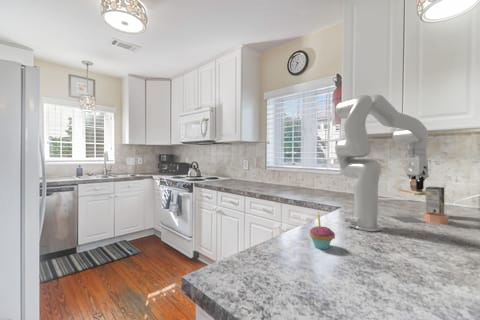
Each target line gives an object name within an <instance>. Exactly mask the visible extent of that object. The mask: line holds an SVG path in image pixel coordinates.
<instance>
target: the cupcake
mask: <svg viewBox="0 0 480 320" xmlns="http://www.w3.org/2000/svg"><path fill="white" fill-rule="evenodd" d="M317 221H318V223H317V225H316V226H314V227H312V228H311V229H310V230H309V237H311V239H312V240H311V241H312V242H313V246H314V247H315V248H316V249H320V250H327V249H328V250H329V247H330V244H331V242H332V241H333V240H334V239H335V238H336V234H335V232H334V231H333V230H332V229H330V228H329V227H327V226H322V224H321V216H320V212H317Z"/></svg>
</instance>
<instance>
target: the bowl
mask: <svg viewBox="0 0 480 320" xmlns="http://www.w3.org/2000/svg"><path fill="white" fill-rule="evenodd" d="M423 215H424V216H423V221H425V222H428V223H430V224H431V223H432V224H438V225H449V222H450V218H449V217H450V215H449V214H445V213H444V214H442V213H435V212H426V211H424V212H423Z"/></svg>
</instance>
